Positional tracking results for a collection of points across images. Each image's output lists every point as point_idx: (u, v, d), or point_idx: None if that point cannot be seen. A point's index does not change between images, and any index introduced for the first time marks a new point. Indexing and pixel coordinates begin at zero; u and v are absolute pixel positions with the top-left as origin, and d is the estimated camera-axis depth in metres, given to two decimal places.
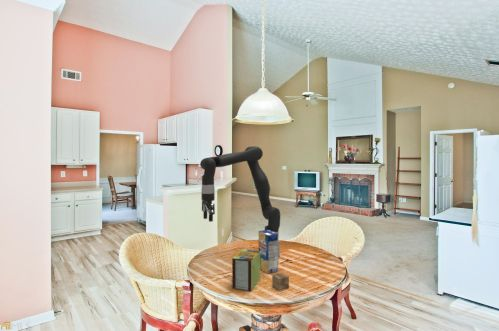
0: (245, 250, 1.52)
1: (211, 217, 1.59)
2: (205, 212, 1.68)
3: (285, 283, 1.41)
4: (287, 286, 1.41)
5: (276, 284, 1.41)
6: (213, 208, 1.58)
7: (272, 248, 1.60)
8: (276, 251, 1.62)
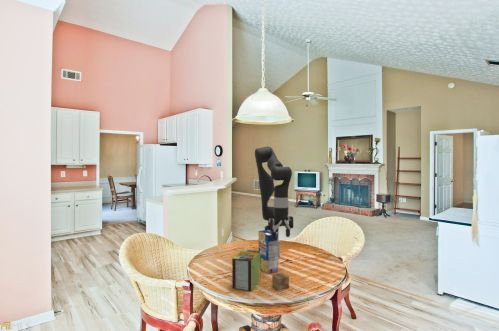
0: (245, 250, 1.52)
1: None
2: None
3: (285, 283, 1.41)
4: (287, 286, 1.41)
5: (276, 284, 1.41)
6: None
7: (272, 248, 1.60)
8: (276, 251, 1.62)
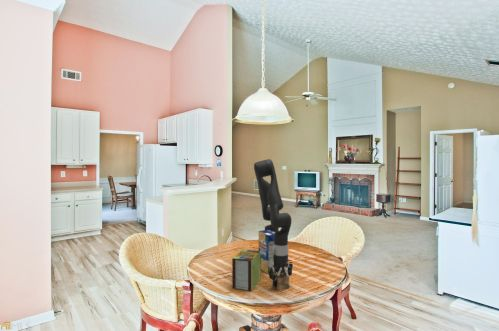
0: (245, 250, 1.53)
1: None
2: None
3: (285, 283, 1.41)
4: (287, 286, 1.41)
5: None
6: None
7: (272, 248, 1.60)
8: None
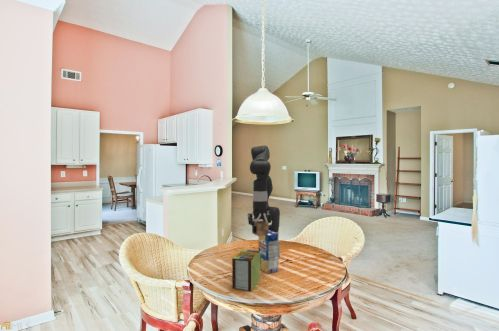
0: (245, 250, 1.52)
1: None
2: None
3: (265, 229, 1.43)
4: (267, 232, 1.43)
5: (256, 230, 1.42)
6: None
7: (272, 248, 1.60)
8: (276, 251, 1.62)
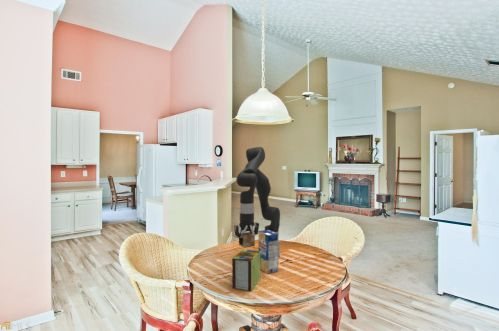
0: (245, 250, 1.52)
1: None
2: None
3: (251, 241, 1.44)
4: (253, 244, 1.45)
5: None
6: None
7: (272, 248, 1.60)
8: (276, 251, 1.62)
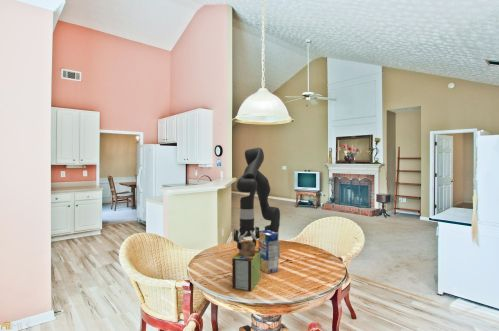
0: None
1: (255, 241, 1.49)
2: None
3: (251, 250, 1.44)
4: (253, 253, 1.45)
5: (242, 251, 1.44)
6: None
7: (272, 248, 1.60)
8: (276, 251, 1.62)
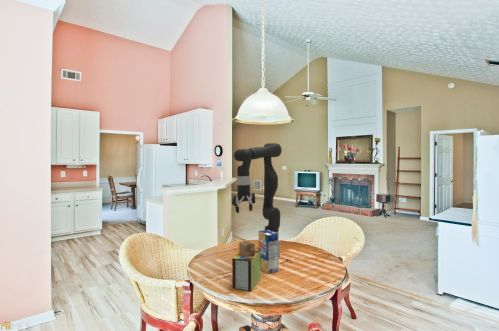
0: None
1: (251, 206, 1.65)
2: None
3: (251, 250, 1.44)
4: (253, 253, 1.45)
5: (242, 251, 1.44)
6: None
7: (272, 248, 1.60)
8: (276, 251, 1.62)
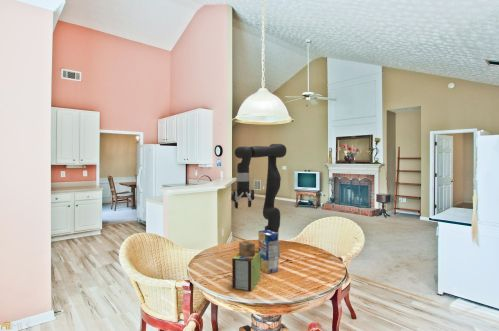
0: None
1: (250, 202, 1.69)
2: None
3: (251, 250, 1.44)
4: (253, 253, 1.45)
5: (242, 251, 1.44)
6: None
7: (272, 248, 1.60)
8: (276, 251, 1.62)
